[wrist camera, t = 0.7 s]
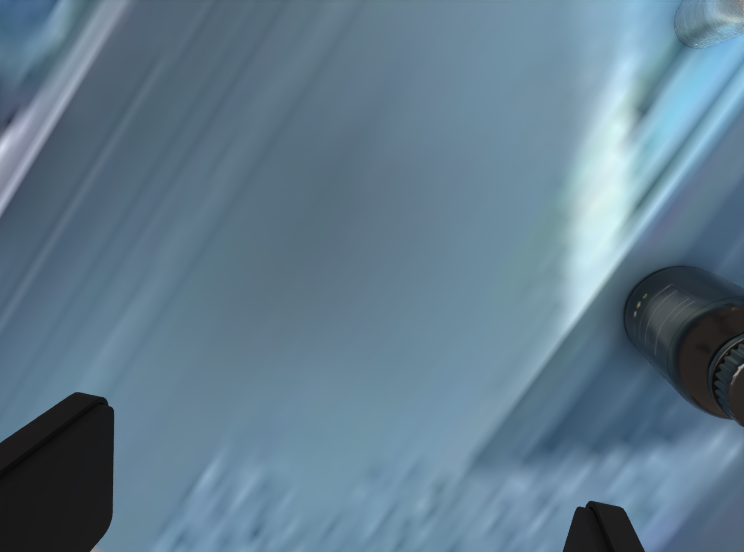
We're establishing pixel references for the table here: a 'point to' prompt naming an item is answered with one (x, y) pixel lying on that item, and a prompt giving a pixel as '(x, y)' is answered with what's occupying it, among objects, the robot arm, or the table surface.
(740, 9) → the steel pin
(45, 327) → the table surface
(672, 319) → the supplement bottle
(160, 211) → the table surface
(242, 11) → the table surface
